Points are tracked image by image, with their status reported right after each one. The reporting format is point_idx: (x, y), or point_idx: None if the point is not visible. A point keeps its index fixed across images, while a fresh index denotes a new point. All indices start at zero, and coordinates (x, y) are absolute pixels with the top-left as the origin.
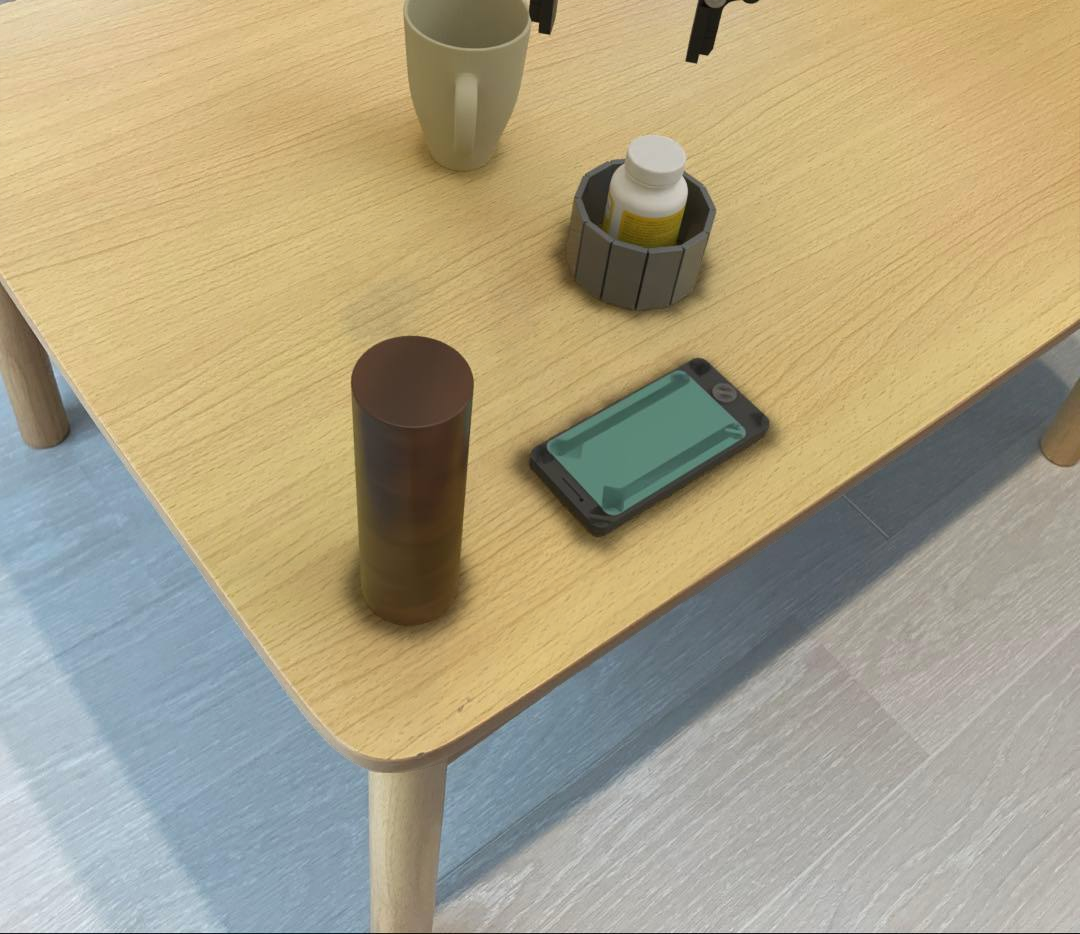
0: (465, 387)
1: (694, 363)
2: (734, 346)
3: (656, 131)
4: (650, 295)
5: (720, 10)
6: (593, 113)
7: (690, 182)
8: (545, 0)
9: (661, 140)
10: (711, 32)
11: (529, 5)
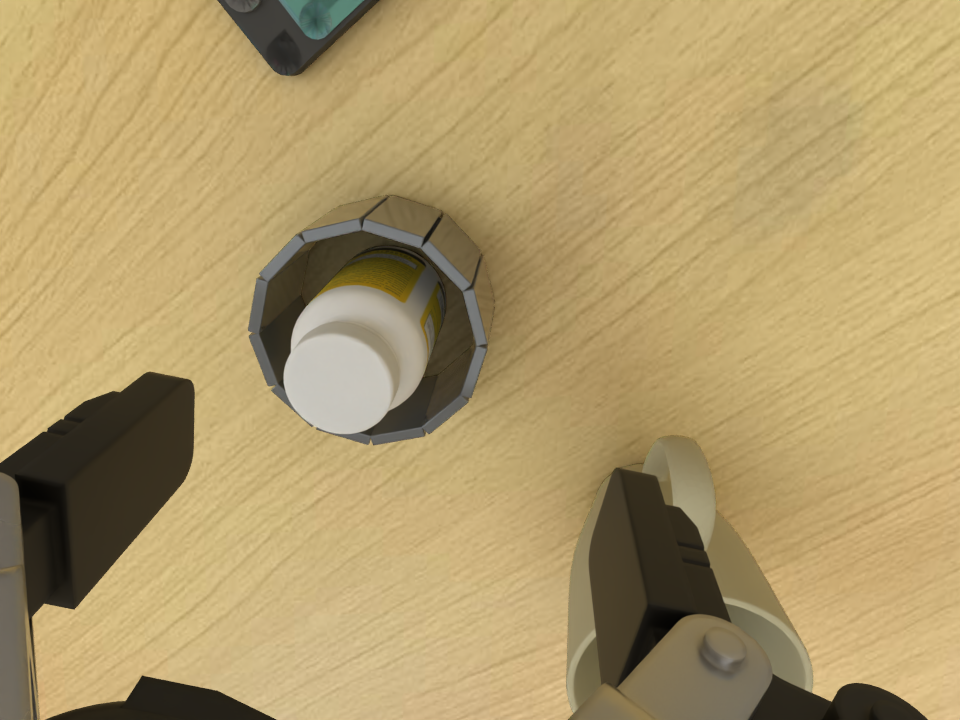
0: None
1: (293, 62)
2: (235, 128)
3: (358, 551)
4: (364, 203)
5: None
6: (446, 579)
7: None
8: (663, 542)
9: (330, 419)
10: (66, 433)
11: (702, 545)
